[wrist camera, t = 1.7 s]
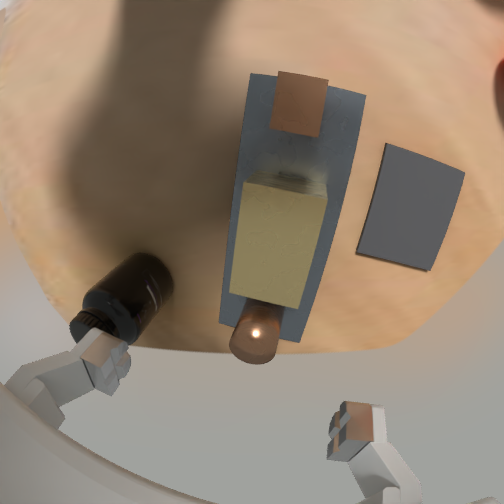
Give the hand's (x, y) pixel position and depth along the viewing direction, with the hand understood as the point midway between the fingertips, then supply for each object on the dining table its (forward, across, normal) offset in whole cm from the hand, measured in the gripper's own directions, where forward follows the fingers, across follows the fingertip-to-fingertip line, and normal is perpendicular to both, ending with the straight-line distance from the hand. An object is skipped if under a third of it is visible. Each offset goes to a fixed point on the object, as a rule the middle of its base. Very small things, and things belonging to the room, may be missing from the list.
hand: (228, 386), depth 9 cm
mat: (+18, -11, -4) cm, 22 cm away
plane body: (+18, 0, -1) cm, 18 cm away
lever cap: (+14, 0, 0) cm, 14 cm away
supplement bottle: (+19, +14, +10) cm, 26 cm away
